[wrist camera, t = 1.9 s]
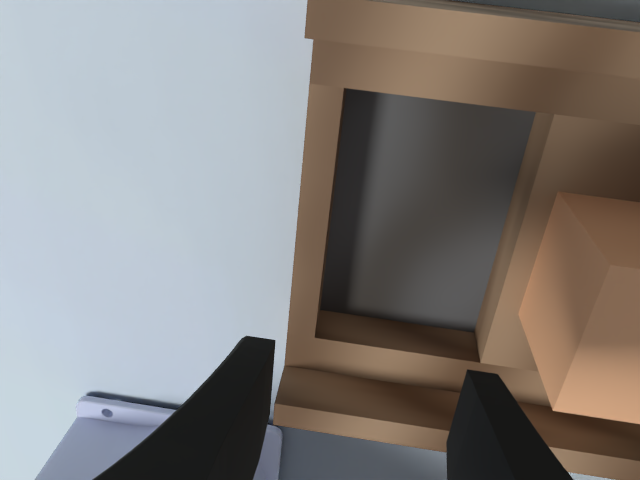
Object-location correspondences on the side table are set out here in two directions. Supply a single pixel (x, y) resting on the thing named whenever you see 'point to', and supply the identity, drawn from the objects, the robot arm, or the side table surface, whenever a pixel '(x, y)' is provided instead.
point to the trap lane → (447, 211)
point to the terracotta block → (587, 307)
